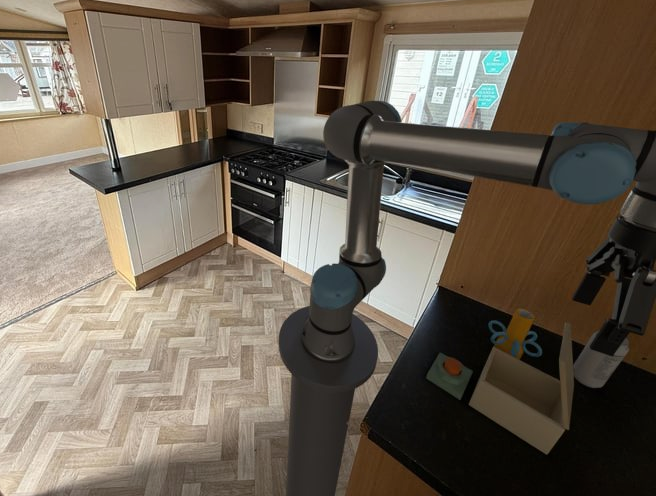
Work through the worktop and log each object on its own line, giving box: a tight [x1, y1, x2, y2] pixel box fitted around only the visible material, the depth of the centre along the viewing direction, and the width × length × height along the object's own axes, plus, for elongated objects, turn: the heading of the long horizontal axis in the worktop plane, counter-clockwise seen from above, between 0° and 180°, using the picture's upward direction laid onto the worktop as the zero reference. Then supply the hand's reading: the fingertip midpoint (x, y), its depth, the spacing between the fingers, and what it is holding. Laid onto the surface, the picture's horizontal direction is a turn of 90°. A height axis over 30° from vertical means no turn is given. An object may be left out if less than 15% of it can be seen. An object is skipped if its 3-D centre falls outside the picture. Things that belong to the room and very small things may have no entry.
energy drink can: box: [573, 330, 630, 389], centre depth 76 cm, size 6×6×15 cm
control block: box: [425, 352, 473, 401], centre depth 79 cm, size 8×9×4 cm
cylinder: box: [487, 307, 543, 361], centre depth 82 cm, size 12×10×15 cm
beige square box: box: [468, 346, 566, 456], centre depth 71 cm, size 15×13×9 cm
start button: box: [444, 357, 462, 375], centre depth 78 cm, size 4×4×2 cm
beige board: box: [558, 322, 575, 431], centre depth 62 cm, size 15×13×1 cm
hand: (589, 324), depth 57 cm, fingers open, 13 cm apart
